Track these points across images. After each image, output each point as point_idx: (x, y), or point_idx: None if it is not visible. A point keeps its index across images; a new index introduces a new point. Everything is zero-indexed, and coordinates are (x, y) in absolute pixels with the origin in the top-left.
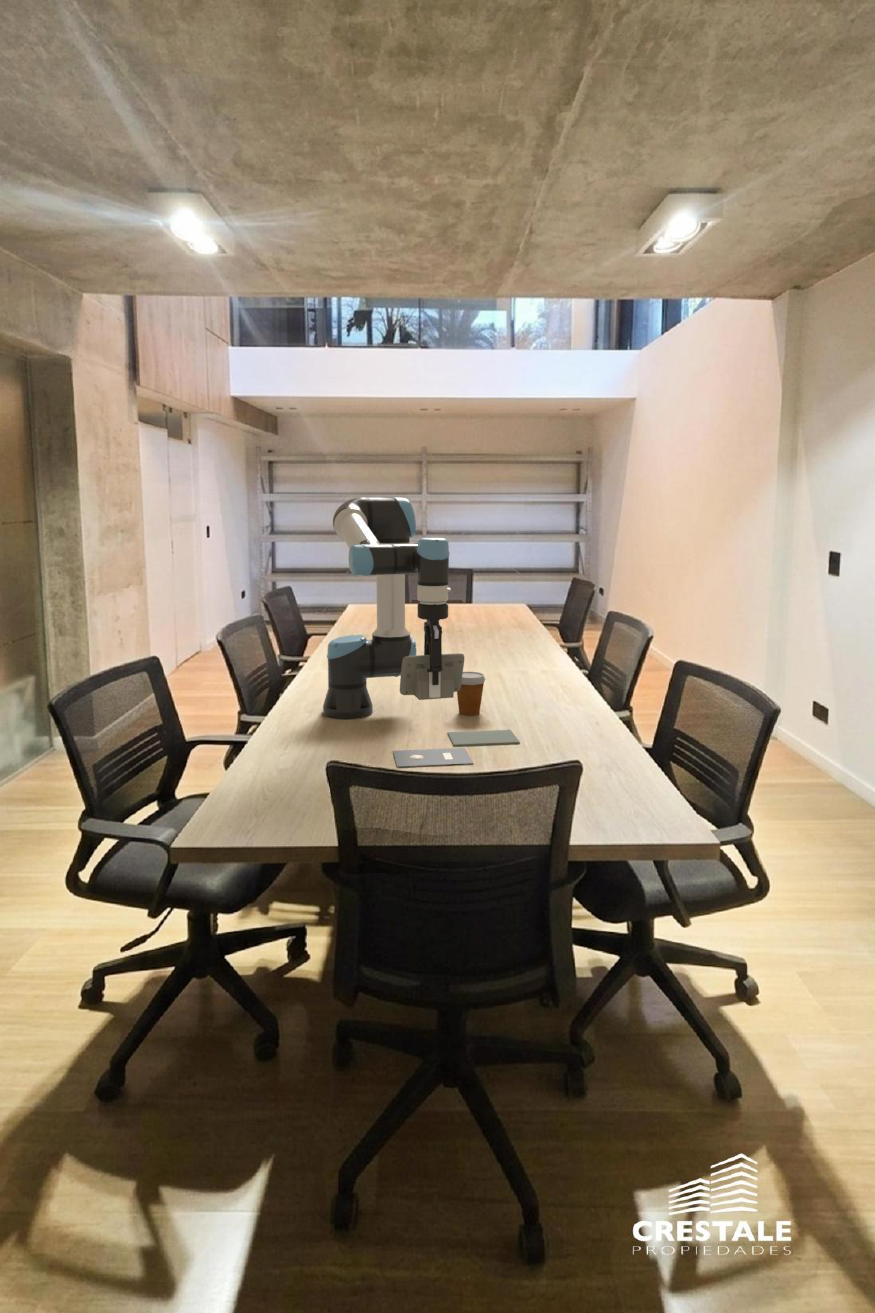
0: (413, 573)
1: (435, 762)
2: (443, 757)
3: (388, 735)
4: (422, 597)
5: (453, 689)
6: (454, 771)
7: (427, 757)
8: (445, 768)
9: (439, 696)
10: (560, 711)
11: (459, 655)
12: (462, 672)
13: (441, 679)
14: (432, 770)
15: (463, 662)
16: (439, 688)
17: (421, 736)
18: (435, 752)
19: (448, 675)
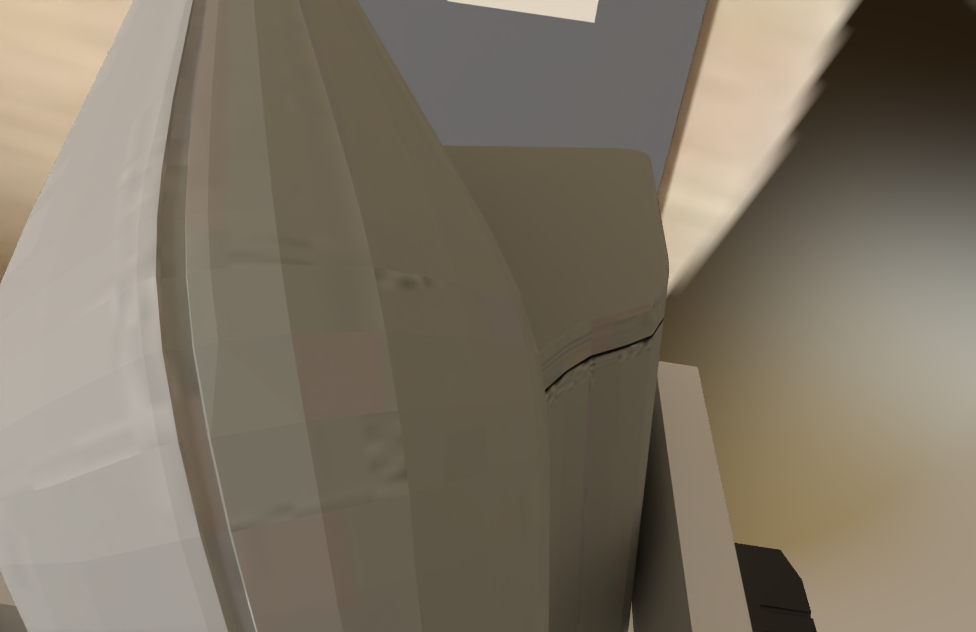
0: None
1: (630, 110)
2: (545, 22)
3: (12, 242)
4: None
5: (657, 211)
6: (832, 21)
7: (515, 134)
8: (745, 66)
9: (697, 386)
10: None
11: (403, 593)
12: (330, 14)
13: (616, 504)
14: (745, 161)
15: (443, 180)
16: (712, 467)
17: (16, 36)
18: (421, 48)
19: (554, 414)
